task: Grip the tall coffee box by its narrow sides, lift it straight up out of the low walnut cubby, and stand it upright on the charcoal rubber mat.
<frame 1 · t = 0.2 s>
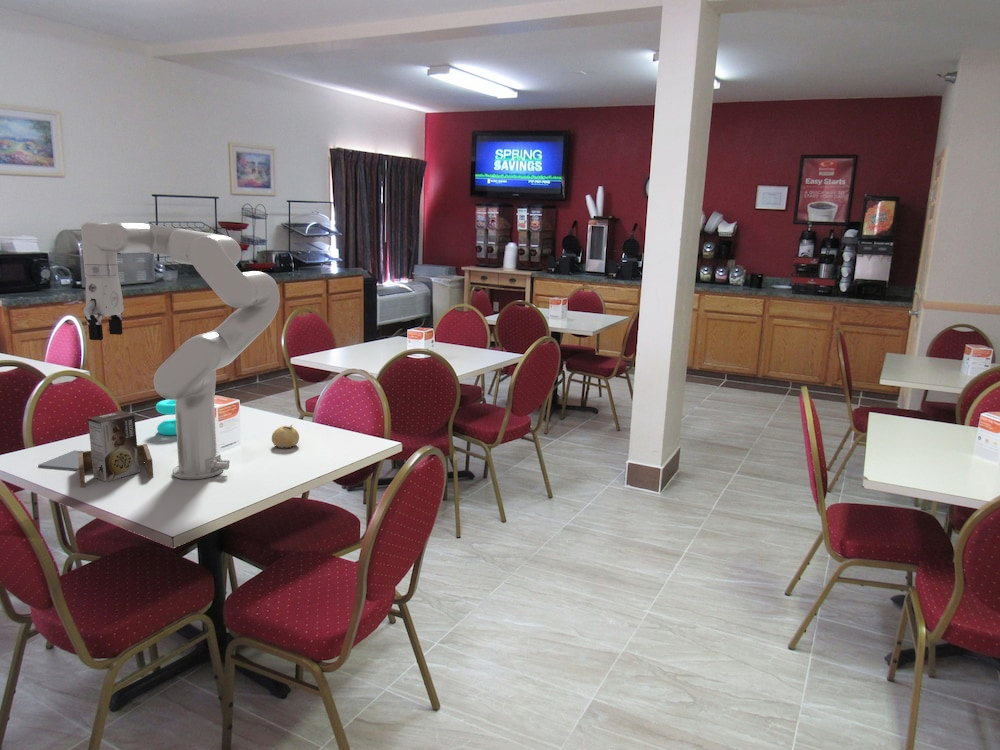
hand: (106, 337, 182), 36 cm above the table, tool pointing down, fingers open, 9 cm apart
charcoal mat: (78, 461, 192), on the table
coffee box: (116, 475, 183), on the table
donuts: (174, 432, 222), on the table
onion: (285, 447, 211), on the table
walnut cubby: (116, 474, 183), on the table
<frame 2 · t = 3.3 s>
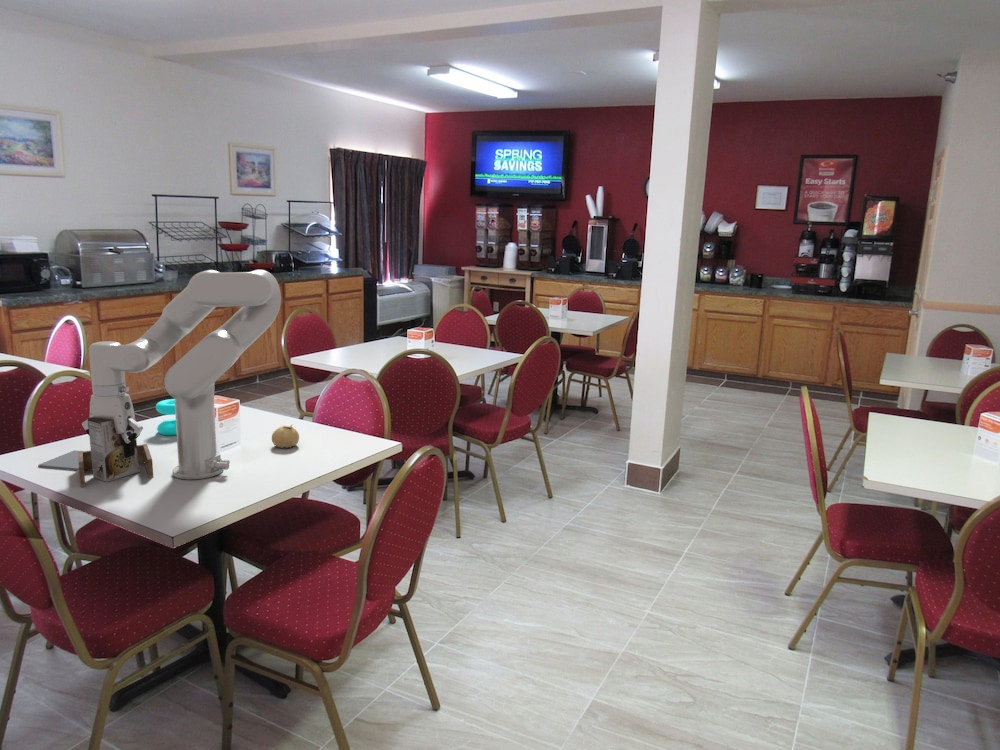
hand: (114, 454, 182), 6 cm above the table, tool pointing down, fingers closed on coffee box, 8 cm apart
coffee box: (116, 475, 183), on the table, touching gripper
everything else where it was.
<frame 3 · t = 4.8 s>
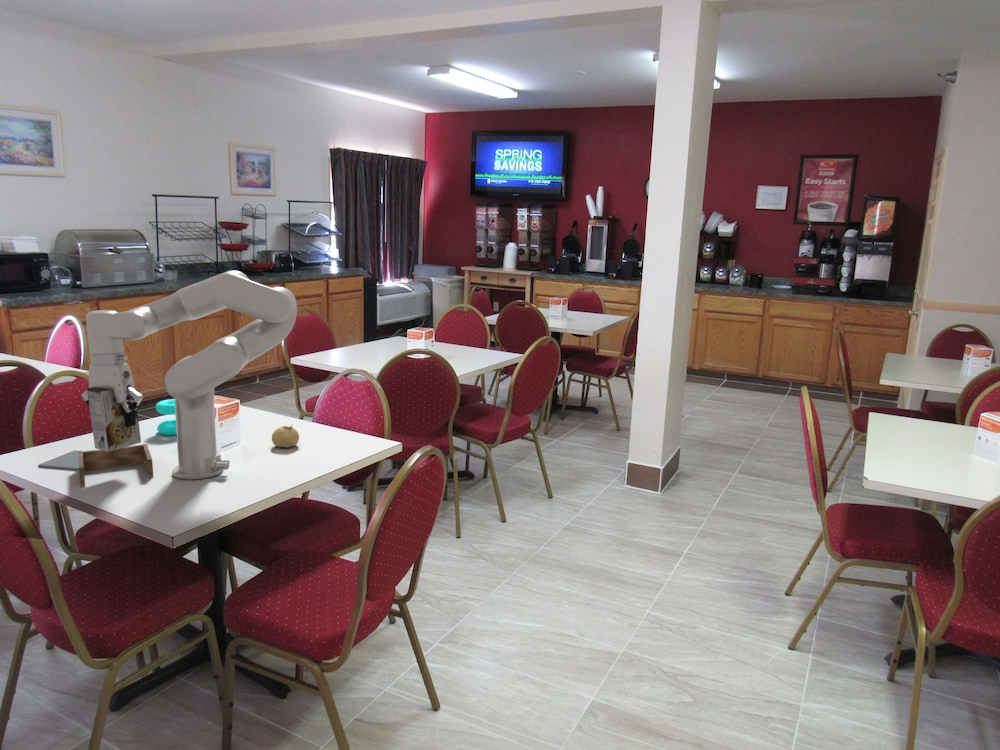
hand: (115, 425, 180), 14 cm above the table, tool pointing down, fingers closed on coffee box, 8 cm apart
coffee box: (118, 446, 181), point 8 cm above the table, touching gripper
everything else where it was.
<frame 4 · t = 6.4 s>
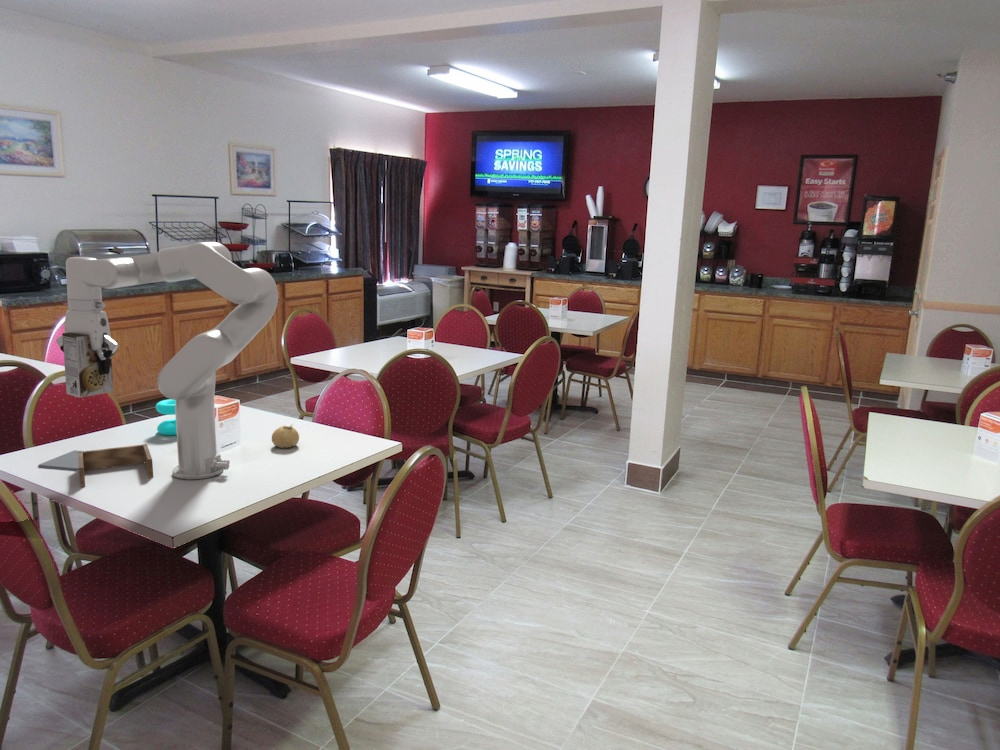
hand: (88, 372, 181), 27 cm above the table, tool pointing down, fingers closed on coffee box, 8 cm apart
coffee box: (90, 393, 182), point 21 cm above the table, touching gripper
everything else where it was.
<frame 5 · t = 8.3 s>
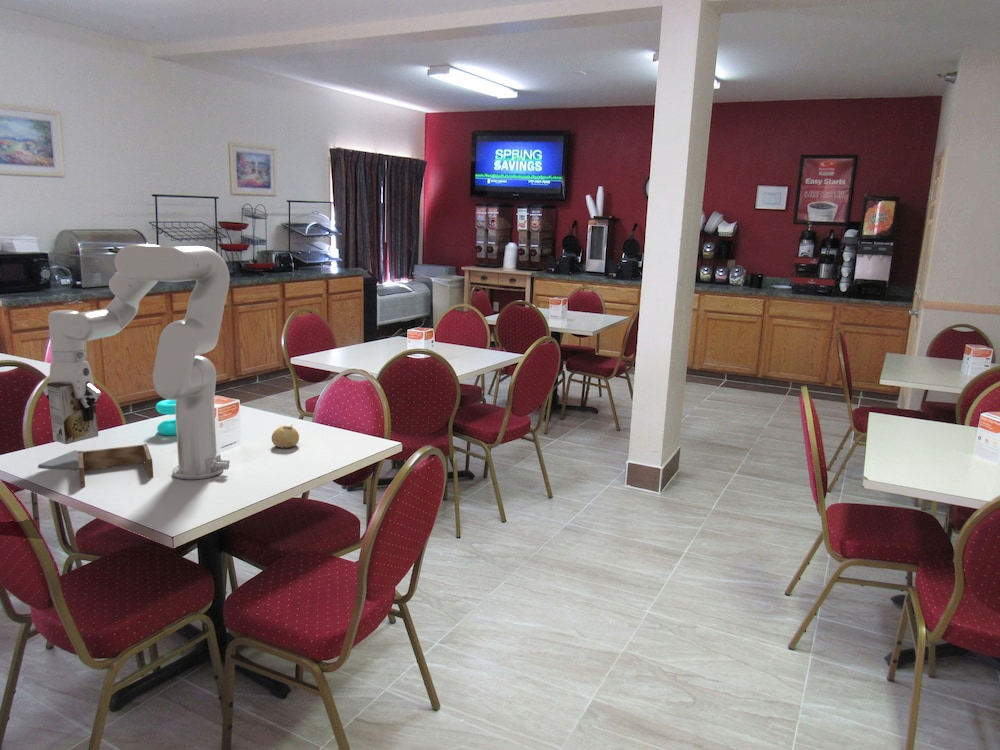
hand: (74, 419, 189), 12 cm above the table, tool pointing down, fingers closed on coffee box, 8 cm apart
coffee box: (76, 439, 191), point 6 cm above the table, touching gripper
everything else where it was.
when the fingers open (7 cm above the table, at t = 10.0 s): coffee box drops 1 cm, resting on charcoal mat.
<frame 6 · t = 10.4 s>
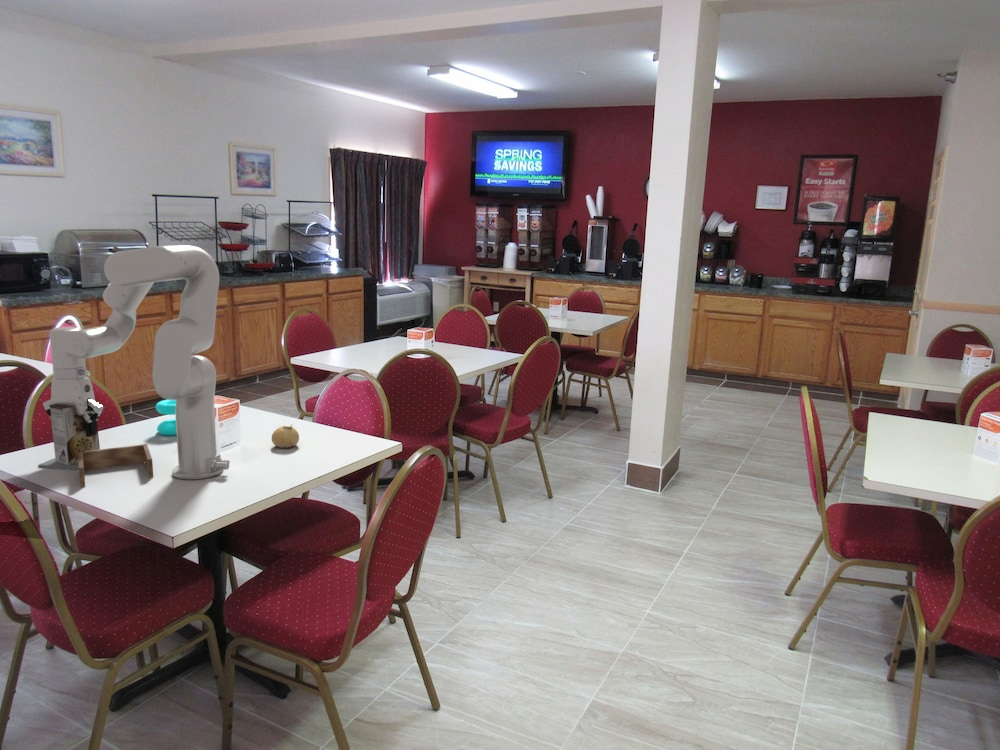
hand: (75, 434, 190), 8 cm above the table, tool pointing down, fingers open, 9 cm apart
coffee box: (78, 459, 192), resting on charcoal mat
everything else where it was.
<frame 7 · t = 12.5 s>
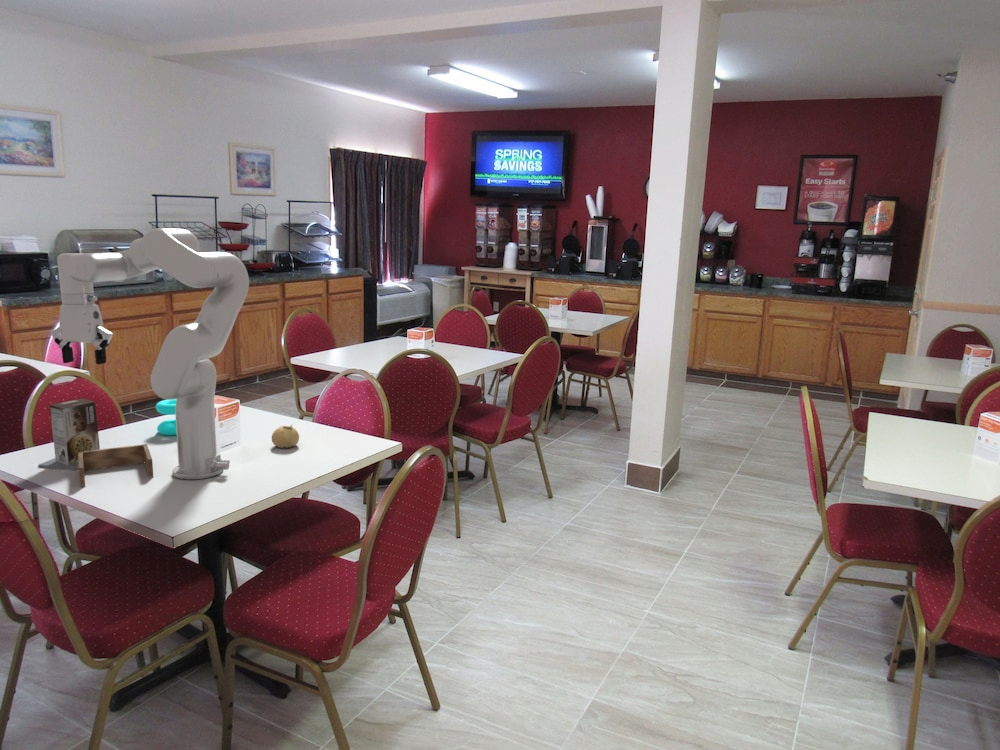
hand: (84, 362, 189), 27 cm above the table, tool pointing down, fingers open, 9 cm apart
nothing on the table moved.
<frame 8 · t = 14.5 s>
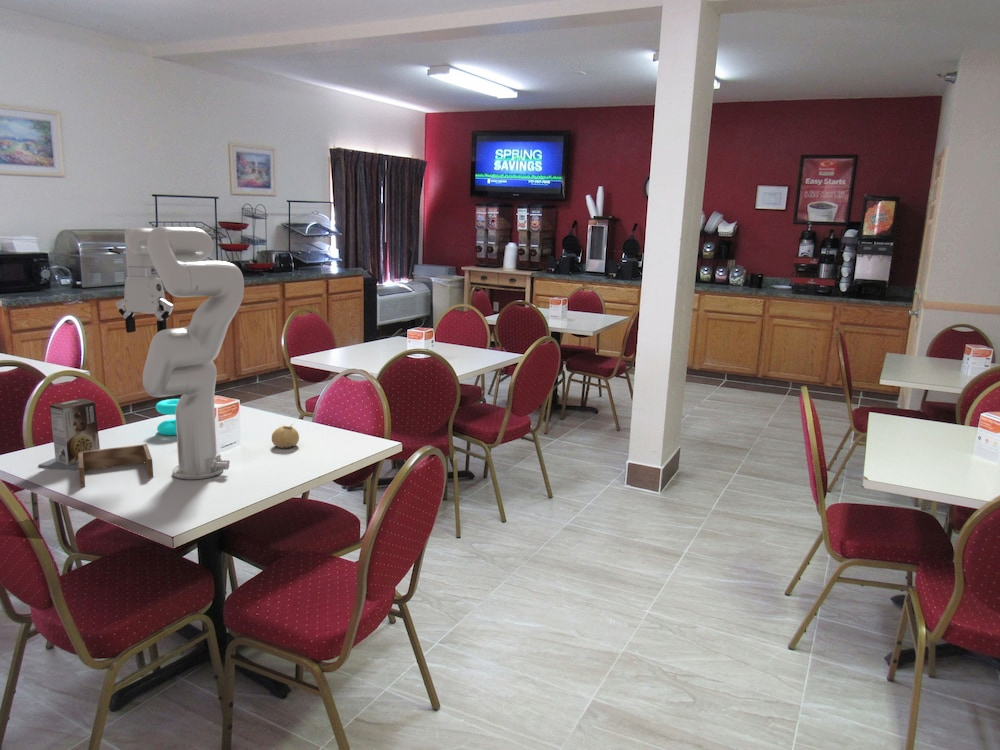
hand: (146, 333, 199), 34 cm above the table, tool pointing down, fingers open, 9 cm apart
nothing on the table moved.
at the end: coffee box 0.1 cm from the charcoal mat (horizontally); coffee box tilted 0°; coffee box touching charcoal mat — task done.
